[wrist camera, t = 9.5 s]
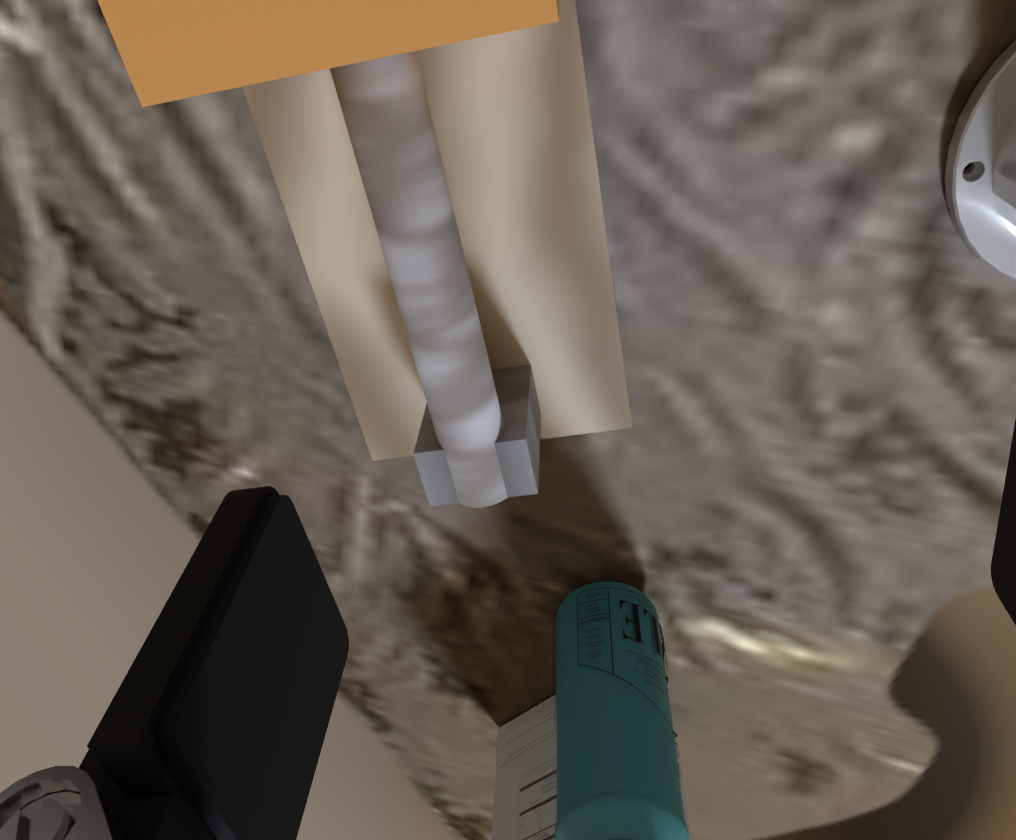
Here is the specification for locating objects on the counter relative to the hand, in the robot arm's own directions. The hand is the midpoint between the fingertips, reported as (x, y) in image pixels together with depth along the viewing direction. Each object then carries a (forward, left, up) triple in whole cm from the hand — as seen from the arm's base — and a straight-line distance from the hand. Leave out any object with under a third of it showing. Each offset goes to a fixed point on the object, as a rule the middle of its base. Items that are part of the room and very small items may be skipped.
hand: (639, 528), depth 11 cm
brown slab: (+7, -6, -25) cm, 27 cm away
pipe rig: (+7, +2, -28) cm, 29 cm away
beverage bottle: (+3, +30, -28) cm, 41 cm away
